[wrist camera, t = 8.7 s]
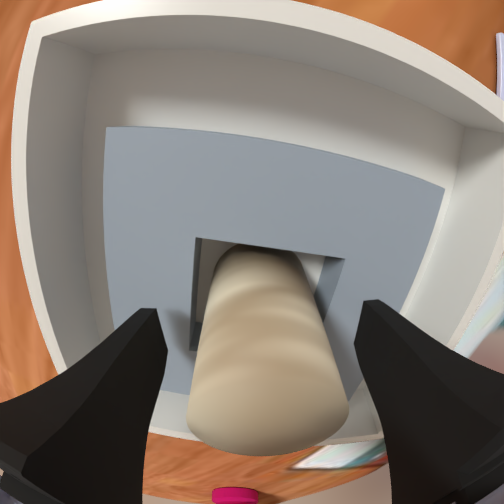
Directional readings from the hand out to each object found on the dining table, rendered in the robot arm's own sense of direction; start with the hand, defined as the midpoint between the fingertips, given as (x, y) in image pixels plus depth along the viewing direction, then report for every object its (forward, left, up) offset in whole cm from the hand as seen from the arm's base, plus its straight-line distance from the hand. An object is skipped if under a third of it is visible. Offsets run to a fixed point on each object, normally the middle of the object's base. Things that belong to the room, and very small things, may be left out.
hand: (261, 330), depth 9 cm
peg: (0, 0, -3) cm, 3 cm away
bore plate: (0, 0, -4) cm, 4 cm away
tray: (0, -1, -4) cm, 4 cm away
